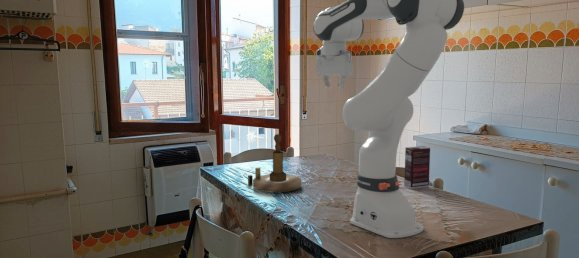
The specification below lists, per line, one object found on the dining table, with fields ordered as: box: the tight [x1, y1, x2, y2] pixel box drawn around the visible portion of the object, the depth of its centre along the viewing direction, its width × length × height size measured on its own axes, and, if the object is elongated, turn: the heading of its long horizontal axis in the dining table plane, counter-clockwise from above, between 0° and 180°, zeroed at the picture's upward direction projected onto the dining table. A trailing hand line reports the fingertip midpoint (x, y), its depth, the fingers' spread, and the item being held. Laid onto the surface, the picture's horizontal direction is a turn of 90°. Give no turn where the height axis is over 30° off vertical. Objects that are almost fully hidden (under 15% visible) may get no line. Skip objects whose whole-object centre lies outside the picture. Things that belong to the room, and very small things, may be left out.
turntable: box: [252, 167, 302, 193], centre depth 162 cm, size 19×19×6 cm
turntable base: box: [247, 174, 254, 187], centre depth 163 cm, size 15×15×4 cm
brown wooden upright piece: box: [269, 133, 286, 182], centre depth 161 cm, size 7×6×18 cm
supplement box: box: [403, 145, 431, 190], centre depth 162 cm, size 9×5×16 cm, turn 109°
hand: (333, 87), depth 158 cm, fingers open, 8 cm apart
